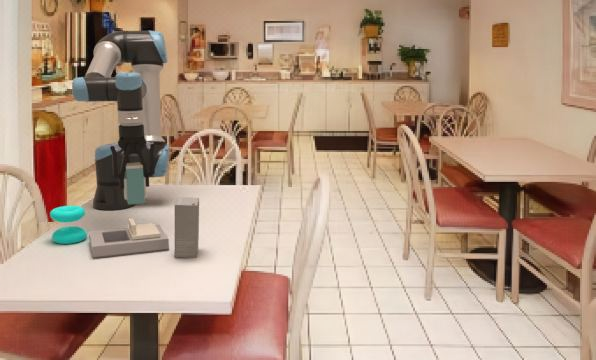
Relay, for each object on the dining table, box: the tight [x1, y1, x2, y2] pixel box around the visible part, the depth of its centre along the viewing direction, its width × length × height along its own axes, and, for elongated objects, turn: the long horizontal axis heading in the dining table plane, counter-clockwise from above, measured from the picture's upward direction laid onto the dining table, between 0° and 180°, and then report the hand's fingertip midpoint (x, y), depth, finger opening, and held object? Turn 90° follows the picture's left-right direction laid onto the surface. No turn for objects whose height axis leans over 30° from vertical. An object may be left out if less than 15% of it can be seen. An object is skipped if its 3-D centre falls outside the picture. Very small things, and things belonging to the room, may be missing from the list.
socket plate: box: [88, 224, 170, 260], centre depth 183 cm, size 16×21×4 cm
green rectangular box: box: [125, 162, 146, 205], centre depth 193 cm, size 5×5×12 cm
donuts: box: [49, 205, 88, 245], centre depth 189 cm, size 10×10×10 cm
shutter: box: [126, 217, 160, 240], centre depth 184 cm, size 12×8×4 cm, turn 22°
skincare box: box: [173, 196, 200, 259], centre depth 176 cm, size 8×7×16 cm
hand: (135, 197), depth 194 cm, fingers closed on green rectangular box, 5 cm apart
